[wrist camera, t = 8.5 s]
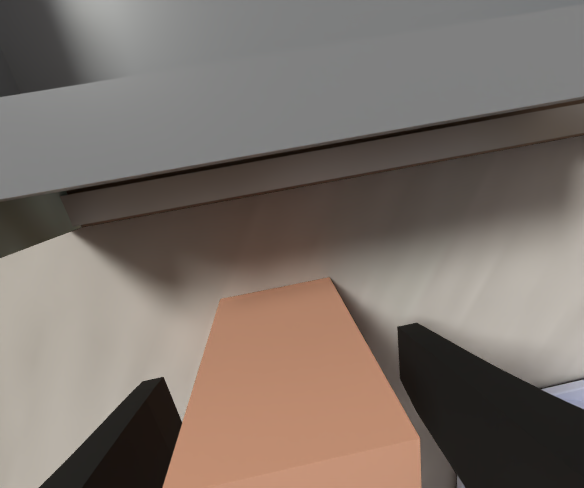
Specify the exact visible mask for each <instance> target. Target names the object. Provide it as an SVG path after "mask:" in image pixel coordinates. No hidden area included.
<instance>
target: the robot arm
mask: <svg viewBox="0 0 584 488" xmlns="http://www.w3.org/2000/svg"><path fill="white" fill-rule="evenodd" d="M397 328H398V348H399V368H400V379H401V382H402V384H403V386H404V388H405V390H406V392H407V394H408V396H409V398H410V400H411V402H412V404H413V405H414V407H415V409H416V411H417V413H418V415H419V416H420V418H421V419H422V421H423V423H424V424H425V426H426V427H427V429H428V430H429V432H430V434H431V435H432V437H433V438H434V440H435V441H436V443H437V444H438V446H439V448H440V449H441V451H442V452H443V454H444V455H445V457H446V458H447V460H448V462H449V463H450V465H451V466H452V468H453V469H454V471H455V472H456V474H457V488H584V380H579V381H575V382H570V383H566V384H562V385H557V386H553V387H549V388H544V389H539V388H537V387H535V386H533V385H531V384H529V383H527V382H525V381H523V380H521V379H519V378H517V377H515V376H513V375H511V374H509V373H507V372H505V371H503V370H501V369H499V368H497V367H496V366H494V365H492V364H490V363H488V362H486V361H484V360H483V359H481V358H479V357H477V356H475V355H473V354H472V353H470V352H468V351H466V350H464V349H463V348H461V347H459V346H457V345H455V344H454V343H452V342H450V341H448V340H447V339H445V338H443V337H441V336H440V335H438V334H436V333H434V332H432V331H431V330H429V329H427V328H425V327H423V326H422V325H420V324H418V323H413V324H409V325H404V326H399V327H397ZM181 426H182V421H181V419H180V416H179V414H178V411H177V409H176V407H175V404H174V402H173V399H172V397H171V394H170V392H169V389H168V387H167V384H166V382H165V379H164V377H161V378H156V379H151V380H147V381H143V382H142V383H141V384H140V385H139V386H137V387H136V388H135V389H134V390H133V391H132V392H131V393H130V394H129V396H128V397H127V398H126V399H125V400H124V401H123V402H122V403H121V404H120V405H119V406H118V407H117V408H116V409H115V410H114V411H113V412H112V413H111V414H110V415H109V416H108V418H107V419H106V420H105V421H104V422H103V423H102V424H101V425H100V426H99V427H98V428H97V429H96V430H95V431H94V432H93V433H92V434H91V435H90V436H89V437H88V438H87V440H86V441H85V442H84V443H83V444H82V445H81V446H80V447H79V448H78V449H77V450H76V451H75V452H74V453H73V454H72V455H71V456H70V457H69V458H68V459H67V460H66V461H65V462H64V463H63V464H62V465H61V466H60V467H59V468H58V469H57V470H56V471H55V472H54V473H53V474H52V475H51V476H50V477H49V478H48V479H47V480H46V481H45V482H44V483H43V484H42V485H41V486H40V487H39V488H163V484H164V481H165V478H166V475H167V471H168V468H169V465H170V462H171V458H172V455H173V452H174V449H175V445H176V442H177V439H178V435H179V432H180V429H181Z"/></svg>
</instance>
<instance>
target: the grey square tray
mask: <svg viewBox="0 0 584 488" xmlns="http://www.w3.org/2000/svg"><path fill="white" fill-rule="evenodd" d="M581 99H584V0H0V202H2V201H8V200H14V199H20V198H26V197H32V196H39V195H45V194H51V193H56V192H62V191H68V190H73V189H79V188H85V187H90V186H96V185H102V184H107V183H113V182H118V181H124V180H130V179H135V178H141V177H147V176H152V175H158V174H164V173H169V172H175V171H181V170H186V169H192V168H198V167H203V166H209V165H215V164H220V163H226V162H231V161H237V160H243V159H248V158H254V157H260V156H265V155H271V154H277V153H282V152H288V151H294V150H299V149H305V148H311V147H316V146H322V145H327V144H333V143H339V142H344V141H350V140H356V139H361V138H367V137H373V136H378V135H384V134H390V133H395V132H401V131H407V130H412V129H418V128H423V127H429V126H435V125H440V124H446V123H452V122H457V121H463V120H469V119H474V118H480V117H486V116H491V115H497V114H503V113H508V112H514V111H519V110H525V109H531V108H536V107H542V106H548V105H553V104H559V103H565V102H570V101H575V100H581Z"/></svg>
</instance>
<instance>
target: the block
mask: <svg viewBox="0 0 584 488" xmlns="http://www.w3.org/2000/svg"><path fill="white" fill-rule="evenodd" d="M163 488H421V457H420V437H419V436H418V434H417V432H416V430H415V428H414V427H413V425H412V423H411V421H410V420H409V418H408V416H407V414H406V412H405V411H404V409H403V407H402V405H401V404H400V402H399V400H398V398H397V396H396V395H395V393H394V391H393V389H392V388H391V386H390V384H389V382H388V380H387V379H386V377H385V375H384V373H383V372H382V370H381V368H380V366H379V364H378V363H377V361H376V359H375V357H374V356H373V354H372V352H371V350H370V349H369V347H368V345H367V343H366V341H365V340H364V338H363V336H362V334H361V333H360V331H359V329H358V327H357V325H356V324H355V322H354V320H353V318H352V317H351V315H350V313H349V311H348V309H347V308H346V306H345V304H344V302H343V301H342V299H341V297H340V295H339V293H338V292H337V290H336V288H335V286H334V285H333V283H332V281H331V279H330V278H329V277H328V278H323V279H318V280H313V281H308V282H303V283H298V284H293V285H288V286H283V287H278V288H273V289H268V290H263V291H258V292H253V293H248V294H243V295H238V296H233V297H228V298H223V299H220V302H219V305H218V308H217V311H216V315H215V318H214V321H213V324H212V328H211V331H210V334H209V337H208V341H207V344H206V347H205V351H204V354H203V357H202V360H201V364H200V367H199V370H198V373H197V377H196V380H195V383H194V386H193V390H192V393H191V396H190V400H189V403H188V406H187V409H186V413H185V416H184V419H183V422H182V426H181V429H180V432H179V435H178V439H177V442H176V445H175V449H174V452H173V455H172V458H171V462H170V465H169V468H168V471H167V475H166V478H165V481H164V484H163Z"/></svg>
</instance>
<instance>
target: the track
mask: <svg viewBox="0 0 584 488" xmlns="http://www.w3.org/2000/svg"><path fill="white" fill-rule="evenodd" d="M582 135H584V99H581V100H575V101H570V102H565V103H559V104H553V105H548V106H542V107H536V108H531V109H525V110H519V111H514V112H508V113H503V114H497V115H491V116H486V117H480V118H474V119H469V120H463V121H457V122H452V123H446V124H440V125H435V126H429V127H423V128H418V129H412V130H407V131H401V132H395V133H390V134H384V135H378V136H373V137H367V138H361V139H356V140H350V141H344V142H339V143H333V144H327V145H322V146H316V147H311V148H305V149H299V150H294V151H288V152H282V153H277V154H271V155H265V156H260V157H254V158H248V159H243V160H237V161H231V162H226V163H220V164H215V165H209V166H203V167H198V168H192V169H186V170H181V171H175V172H169V173H164V174H158V175H152V176H147V177H141V178H135V179H130V180H124V181H118V182H113V183H107V184H102V185H96V186H90V187H85V188H79V189H73V190H68V191H62V192H56V193H51V194H45V195H39V196H32V197H26V198H20V199H14V200H8V201H2V202H0V258H2V257H5V256H7V255H10V254H12V253H15V252H18V251H20V250H23V249H26V248H28V247H31V246H34V245H36V244H39V243H42V242H44V241H47V240H49V239H52V238H55V237H57V236H60V235H63V234H65V233H68V232H71V231H73V230H76V229H79V228H81V227H86V226H92V225H97V224H102V223H108V222H113V221H119V220H124V219H130V218H135V217H141V216H146V215H151V214H157V213H162V212H168V211H173V210H179V209H184V208H190V207H195V206H200V205H206V204H211V203H217V202H222V201H228V200H233V199H239V198H244V197H249V196H255V195H260V194H266V193H271V192H277V191H282V190H288V189H293V188H298V187H304V186H309V185H315V184H320V183H326V182H331V181H337V180H342V179H347V178H353V177H358V176H364V175H369V174H375V173H380V172H386V171H391V170H396V169H402V168H407V167H413V166H418V165H424V164H429V163H435V162H440V161H445V160H451V159H456V158H462V157H467V156H473V155H478V154H484V153H489V152H494V151H500V150H505V149H511V148H516V147H522V146H527V145H533V144H538V143H543V142H549V141H554V140H560V139H565V138H571V137H576V136H582Z"/></svg>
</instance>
